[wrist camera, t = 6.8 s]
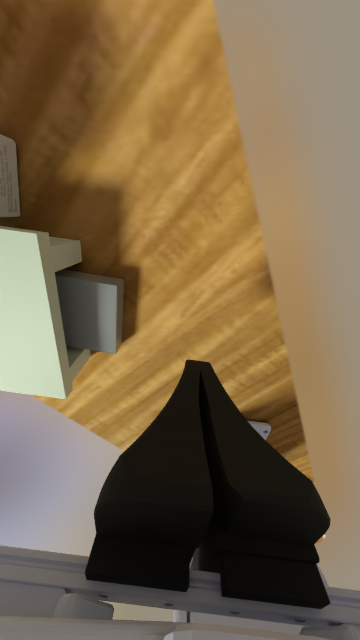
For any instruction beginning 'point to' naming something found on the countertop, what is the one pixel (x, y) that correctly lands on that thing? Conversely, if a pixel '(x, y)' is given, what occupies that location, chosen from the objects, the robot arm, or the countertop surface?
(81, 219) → the countertop surface
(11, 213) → the medicine box
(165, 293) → the countertop surface
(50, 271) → the shelf
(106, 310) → the slate tile
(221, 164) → the countertop surface
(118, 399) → the countertop surface
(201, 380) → the robot arm
